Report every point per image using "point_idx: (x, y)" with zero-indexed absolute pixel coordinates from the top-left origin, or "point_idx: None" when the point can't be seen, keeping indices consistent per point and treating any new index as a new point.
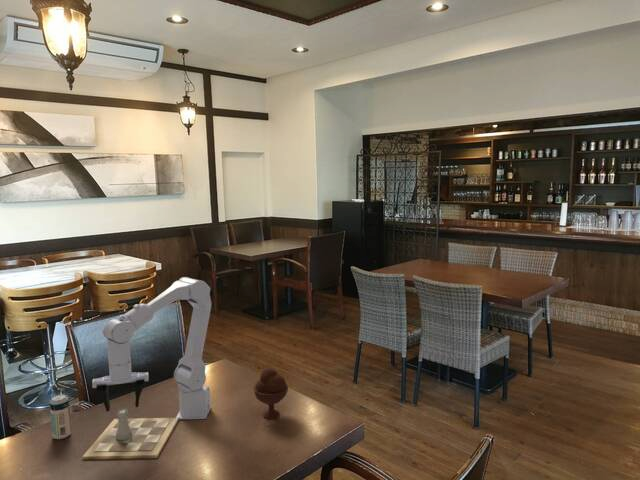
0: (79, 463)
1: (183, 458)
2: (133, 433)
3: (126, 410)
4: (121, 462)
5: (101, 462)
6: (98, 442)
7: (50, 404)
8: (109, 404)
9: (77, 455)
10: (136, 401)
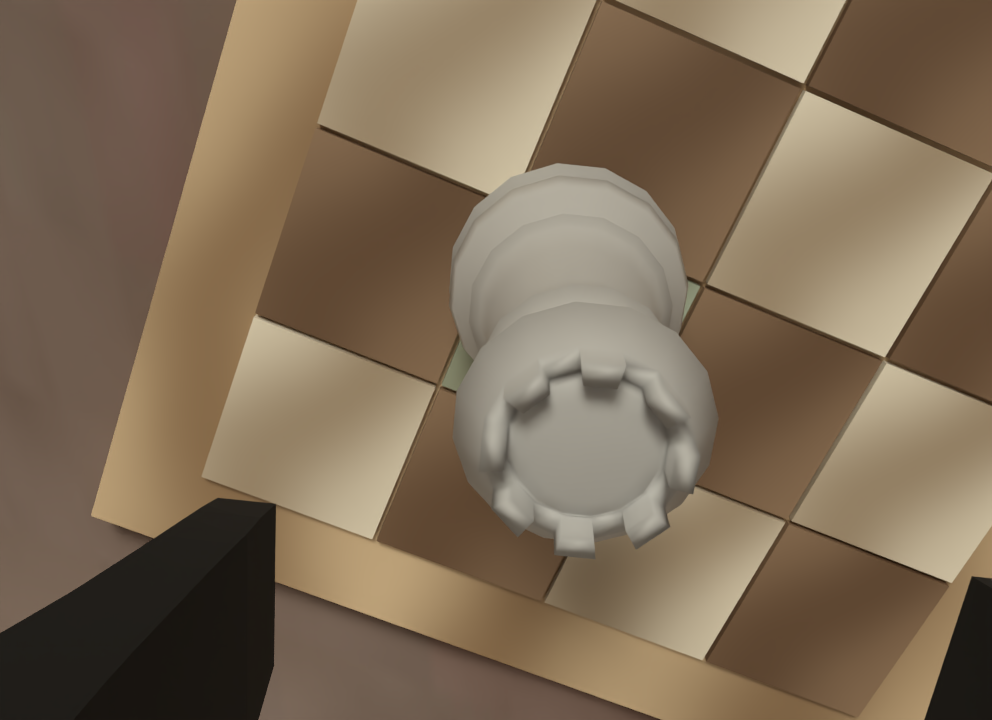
0: (90, 557)
1: None
2: (699, 237)
3: (680, 489)
4: (523, 707)
5: (321, 629)
6: (225, 263)
7: None
8: (240, 600)
9: (23, 388)
10: None
